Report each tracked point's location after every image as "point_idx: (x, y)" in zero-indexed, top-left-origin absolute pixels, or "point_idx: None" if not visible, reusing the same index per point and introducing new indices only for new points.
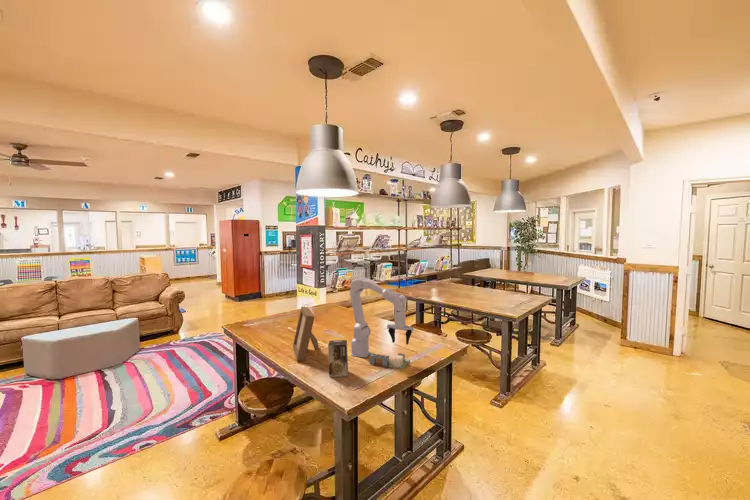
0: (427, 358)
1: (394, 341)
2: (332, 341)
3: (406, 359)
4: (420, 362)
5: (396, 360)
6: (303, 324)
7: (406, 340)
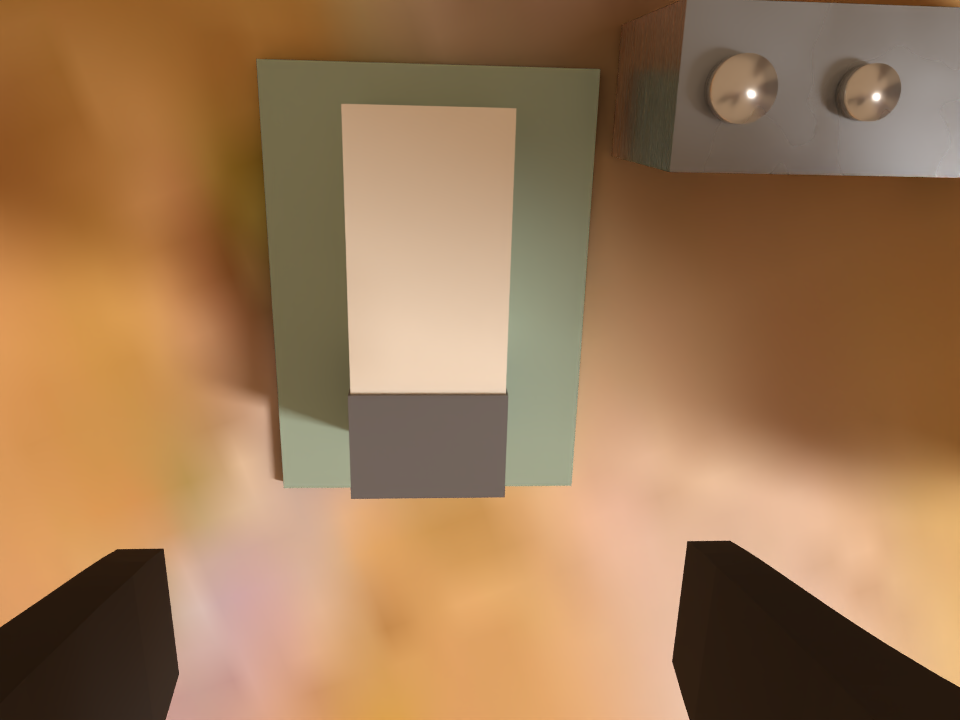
0: None
1: (682, 638)
2: None
3: (348, 484)
4: (57, 471)
5: (436, 106)
6: None
7: (46, 639)
